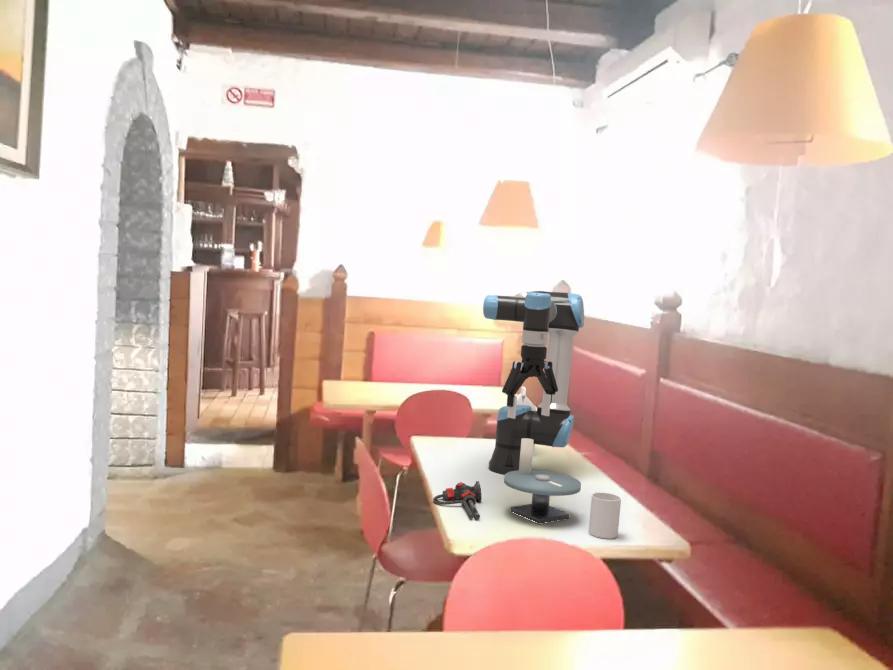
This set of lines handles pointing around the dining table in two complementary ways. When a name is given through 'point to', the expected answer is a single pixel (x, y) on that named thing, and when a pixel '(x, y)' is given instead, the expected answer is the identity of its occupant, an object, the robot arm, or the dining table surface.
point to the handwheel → (539, 477)
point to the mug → (604, 515)
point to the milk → (524, 400)
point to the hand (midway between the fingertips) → (528, 416)
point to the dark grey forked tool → (462, 497)
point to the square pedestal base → (540, 510)
